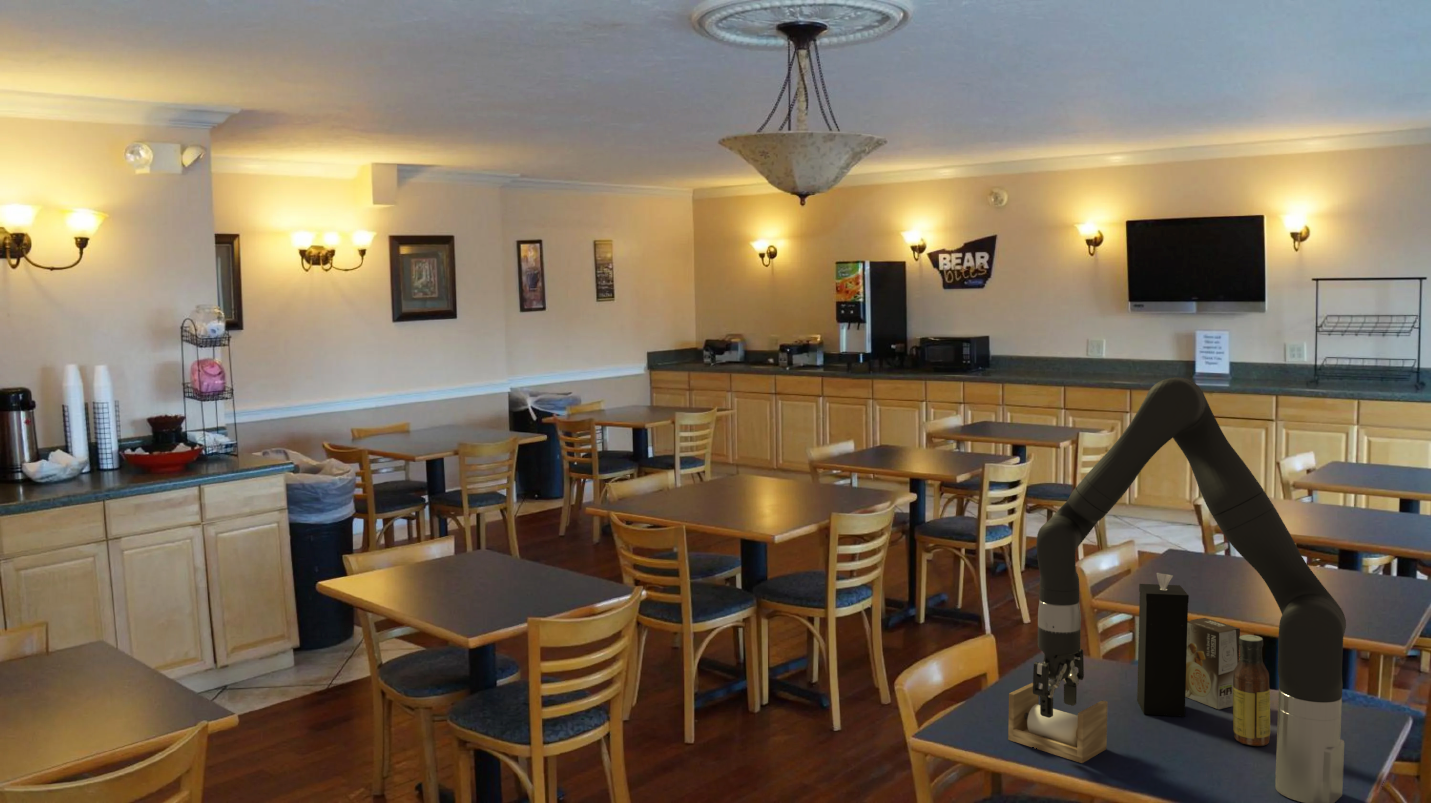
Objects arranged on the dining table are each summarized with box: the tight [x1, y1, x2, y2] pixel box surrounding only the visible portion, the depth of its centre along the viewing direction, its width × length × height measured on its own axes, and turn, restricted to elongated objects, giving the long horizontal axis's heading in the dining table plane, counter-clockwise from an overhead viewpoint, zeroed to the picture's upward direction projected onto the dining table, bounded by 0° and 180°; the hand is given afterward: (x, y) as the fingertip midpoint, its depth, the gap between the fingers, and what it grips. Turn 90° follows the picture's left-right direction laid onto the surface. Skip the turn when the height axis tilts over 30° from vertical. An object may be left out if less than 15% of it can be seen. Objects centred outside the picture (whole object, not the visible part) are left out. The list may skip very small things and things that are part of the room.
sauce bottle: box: [1232, 634, 1271, 747], centre depth 204 cm, size 6×6×20 cm
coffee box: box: [1185, 617, 1241, 710], centre depth 225 cm, size 9×6×16 cm
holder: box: [1007, 682, 1109, 764], centre depth 203 cm, size 15×9×9 cm, turn 43°
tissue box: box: [1136, 572, 1190, 717], centre depth 220 cm, size 8×8×28 cm
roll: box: [1027, 704, 1078, 747], centre depth 203 cm, size 10×6×6 cm, turn 44°
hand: (1058, 710), depth 203 cm, fingers open, 8 cm apart
